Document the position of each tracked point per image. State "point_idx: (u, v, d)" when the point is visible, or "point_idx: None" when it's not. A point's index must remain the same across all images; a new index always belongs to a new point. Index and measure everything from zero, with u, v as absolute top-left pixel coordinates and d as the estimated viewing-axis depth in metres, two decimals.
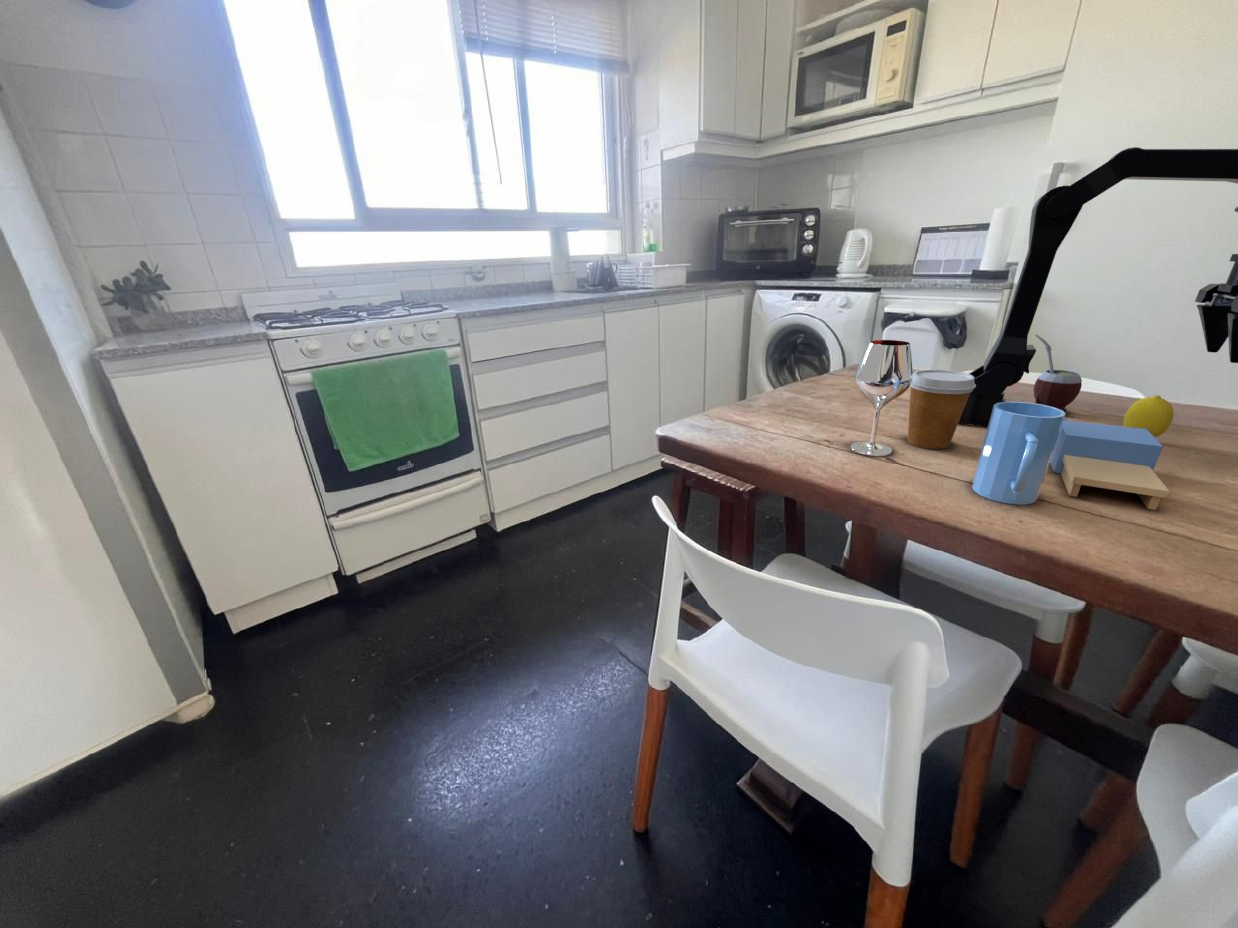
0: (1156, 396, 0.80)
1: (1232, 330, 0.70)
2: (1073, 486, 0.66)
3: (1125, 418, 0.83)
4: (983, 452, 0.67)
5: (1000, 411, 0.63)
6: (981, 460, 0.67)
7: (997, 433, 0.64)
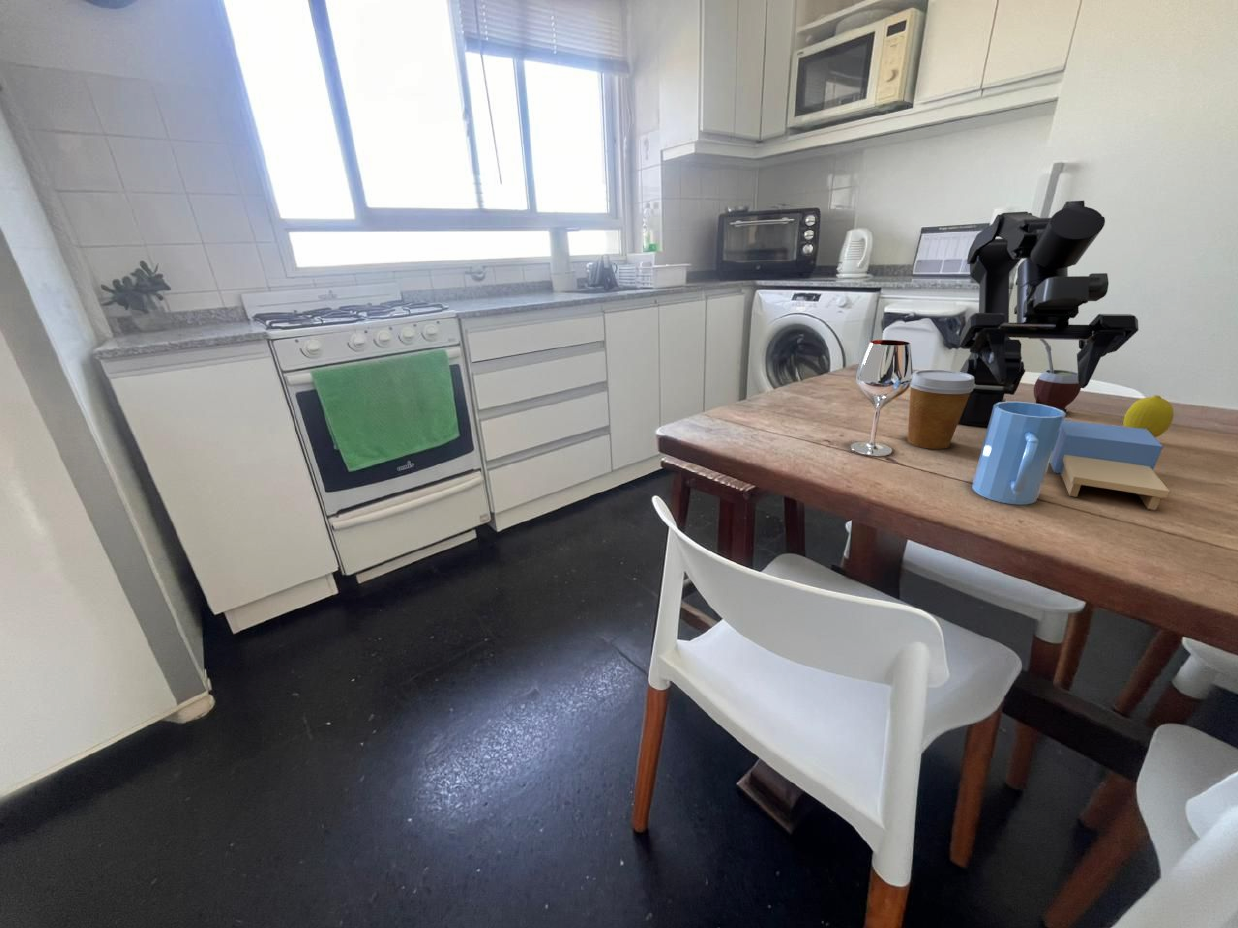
0: (1156, 396, 0.80)
1: (983, 361, 0.74)
2: (1073, 486, 0.66)
3: (1125, 418, 0.83)
4: (983, 452, 0.67)
5: (1000, 411, 0.63)
6: (981, 460, 0.67)
7: (997, 433, 0.64)
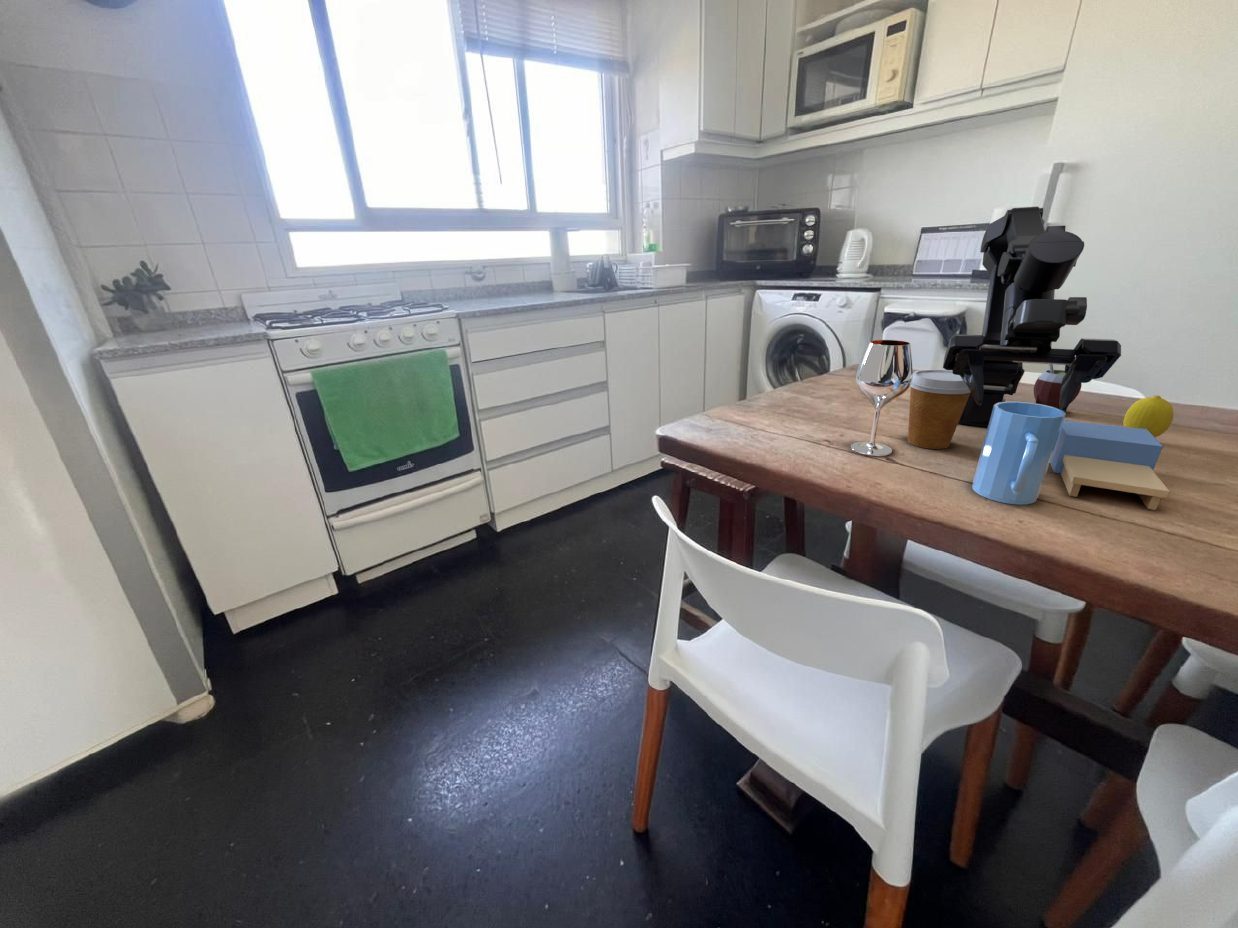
0: (1156, 396, 0.80)
1: (965, 382, 0.73)
2: (1073, 486, 0.66)
3: (1125, 418, 0.83)
4: (983, 452, 0.67)
5: (1000, 411, 0.63)
6: (981, 460, 0.67)
7: (997, 433, 0.64)
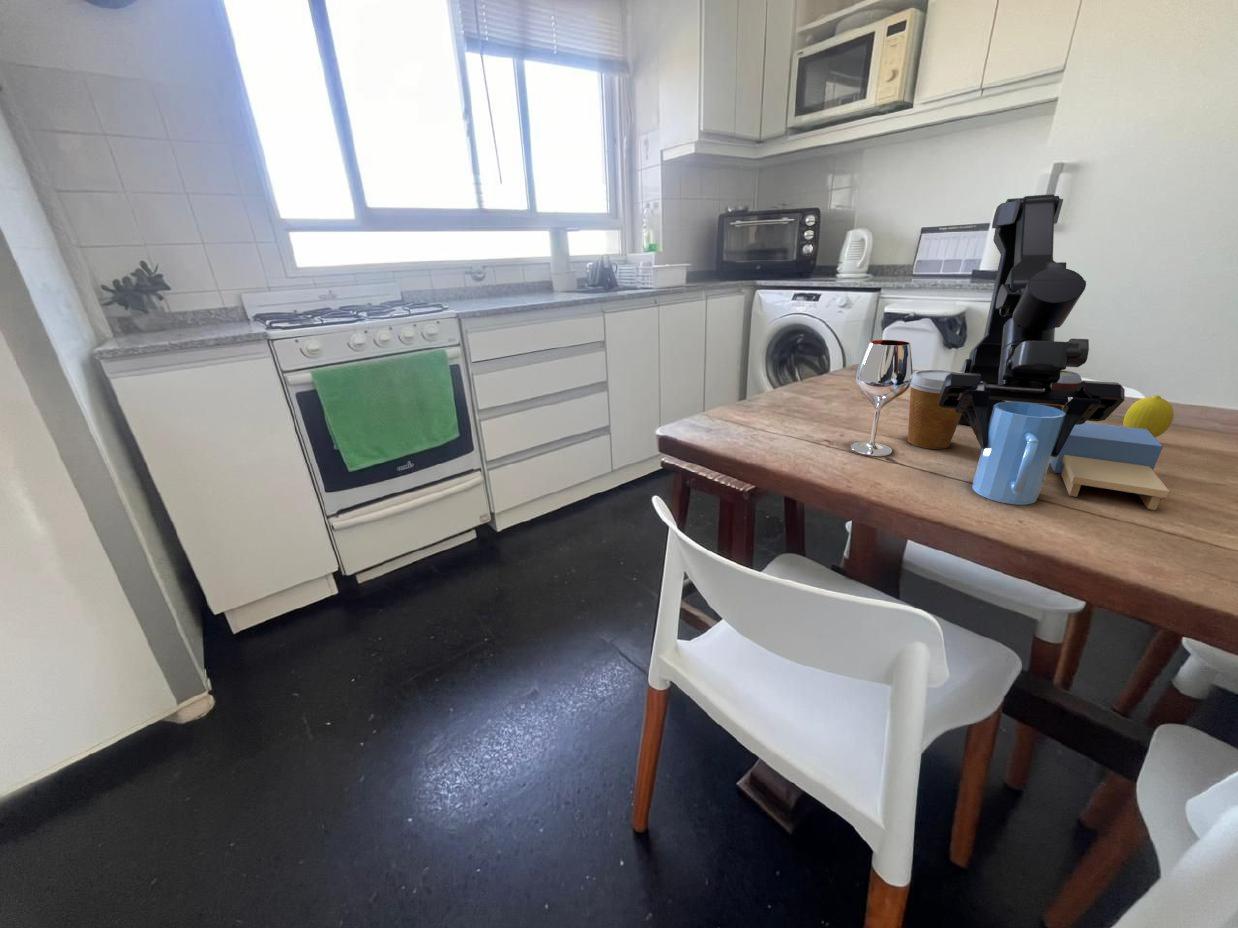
0: (1156, 396, 0.80)
1: (969, 422, 0.70)
2: (1073, 486, 0.66)
3: (1125, 418, 0.83)
4: (983, 452, 0.67)
5: (1000, 411, 0.63)
6: (981, 460, 0.67)
7: (997, 433, 0.64)
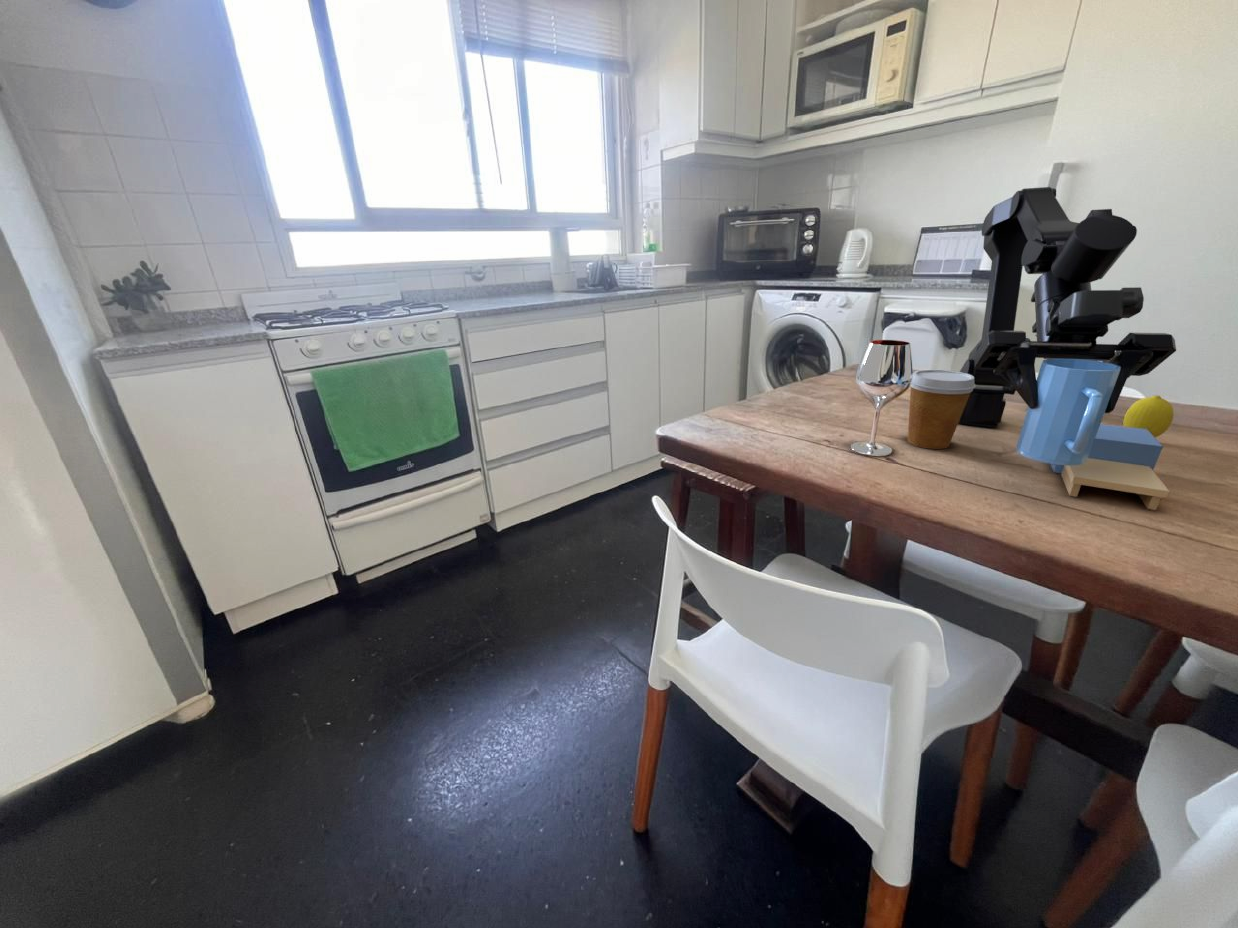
0: (1156, 396, 0.80)
1: (1010, 383, 0.67)
2: (1073, 486, 0.66)
3: (1125, 418, 0.83)
4: (1031, 413, 0.63)
5: (1053, 367, 0.60)
6: (1029, 421, 0.64)
7: (1050, 391, 0.61)
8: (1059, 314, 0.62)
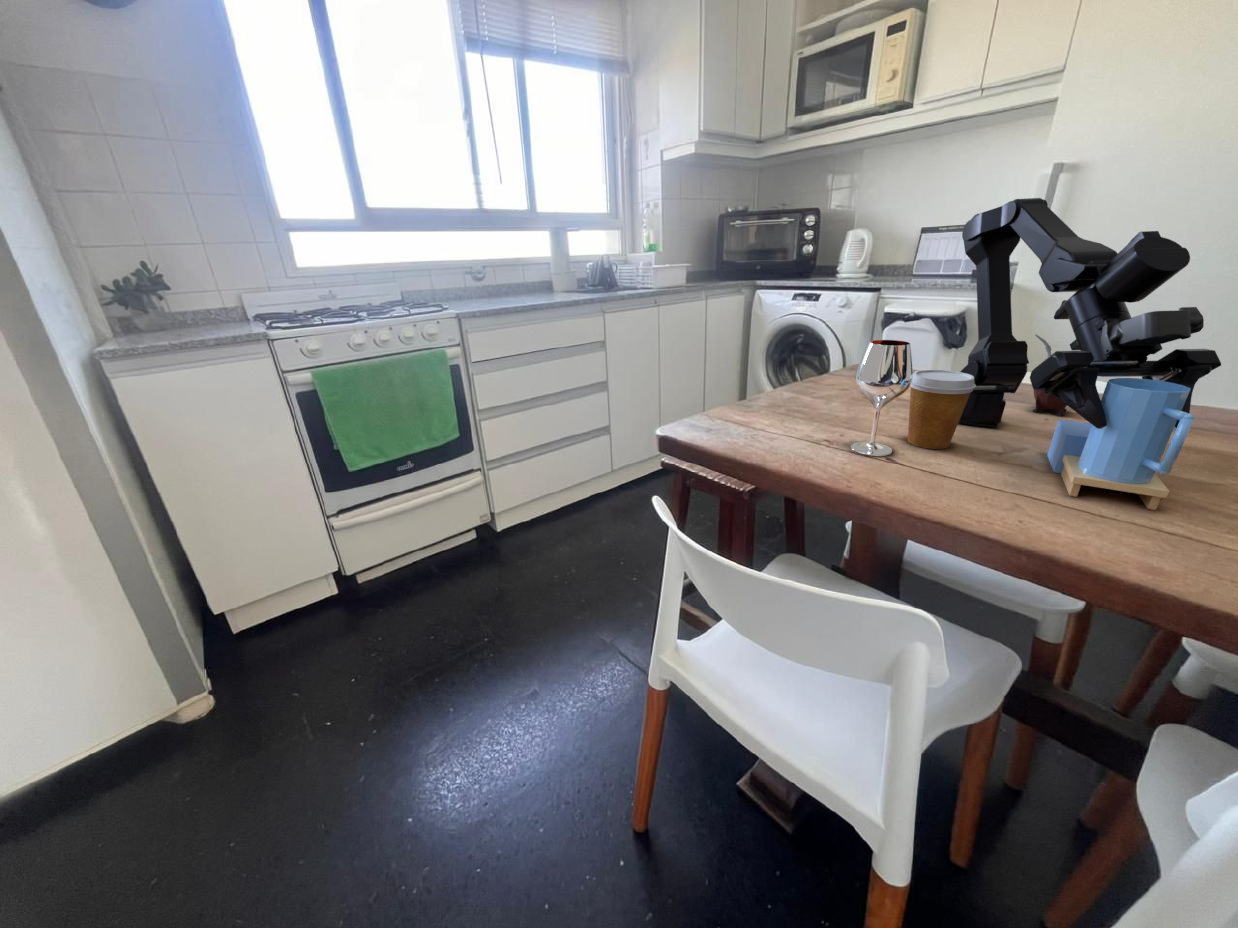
0: None
1: (1064, 403, 0.66)
2: (1073, 486, 0.66)
3: None
4: (1103, 434, 0.63)
5: (1132, 389, 0.60)
6: (1101, 442, 0.64)
7: (1128, 413, 0.61)
8: (1122, 334, 0.62)
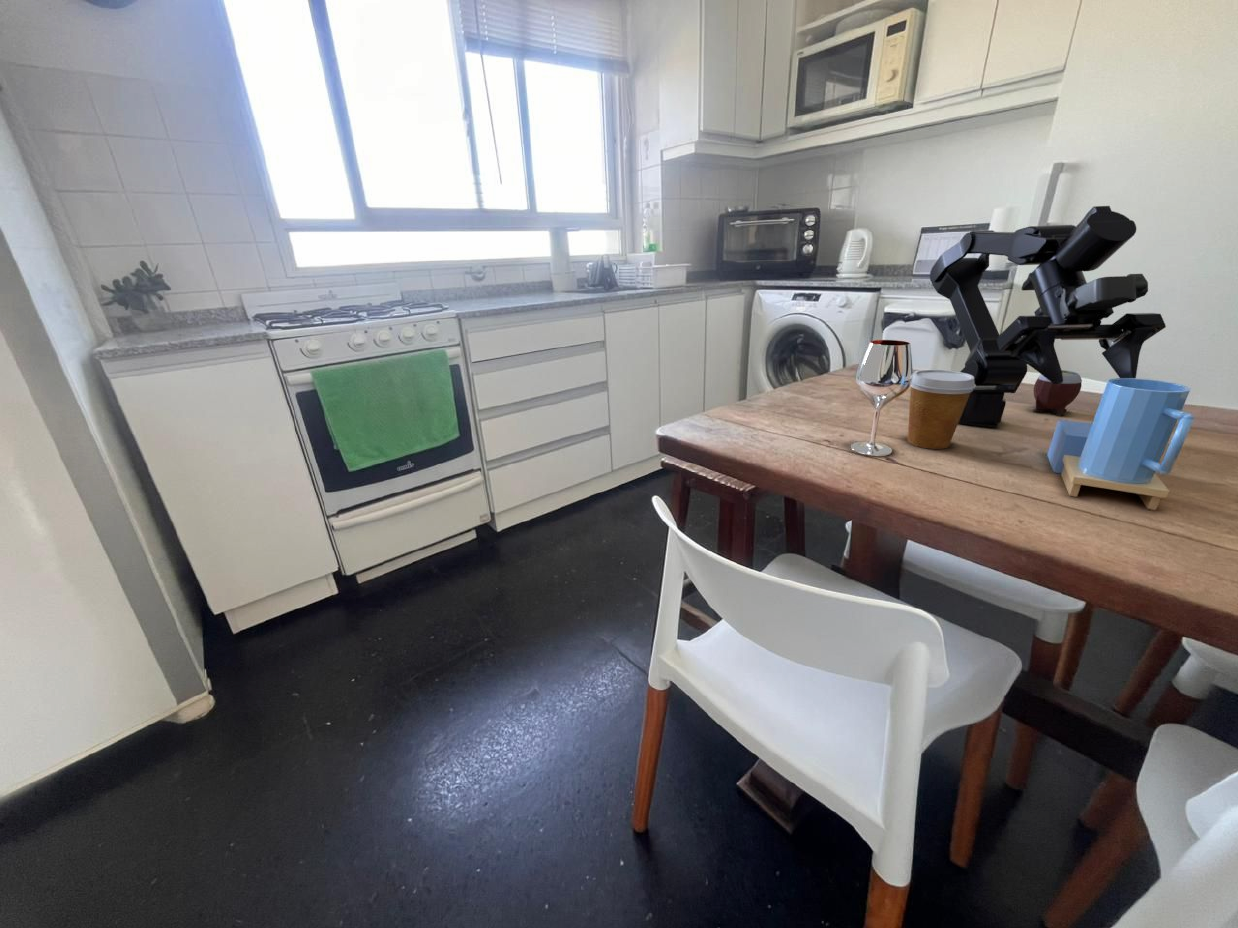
0: None
1: (1027, 363, 0.73)
2: (1073, 486, 0.66)
3: None
4: (1103, 434, 0.63)
5: (1132, 389, 0.60)
6: (1101, 442, 0.64)
7: (1128, 413, 0.61)
8: (1077, 299, 0.69)
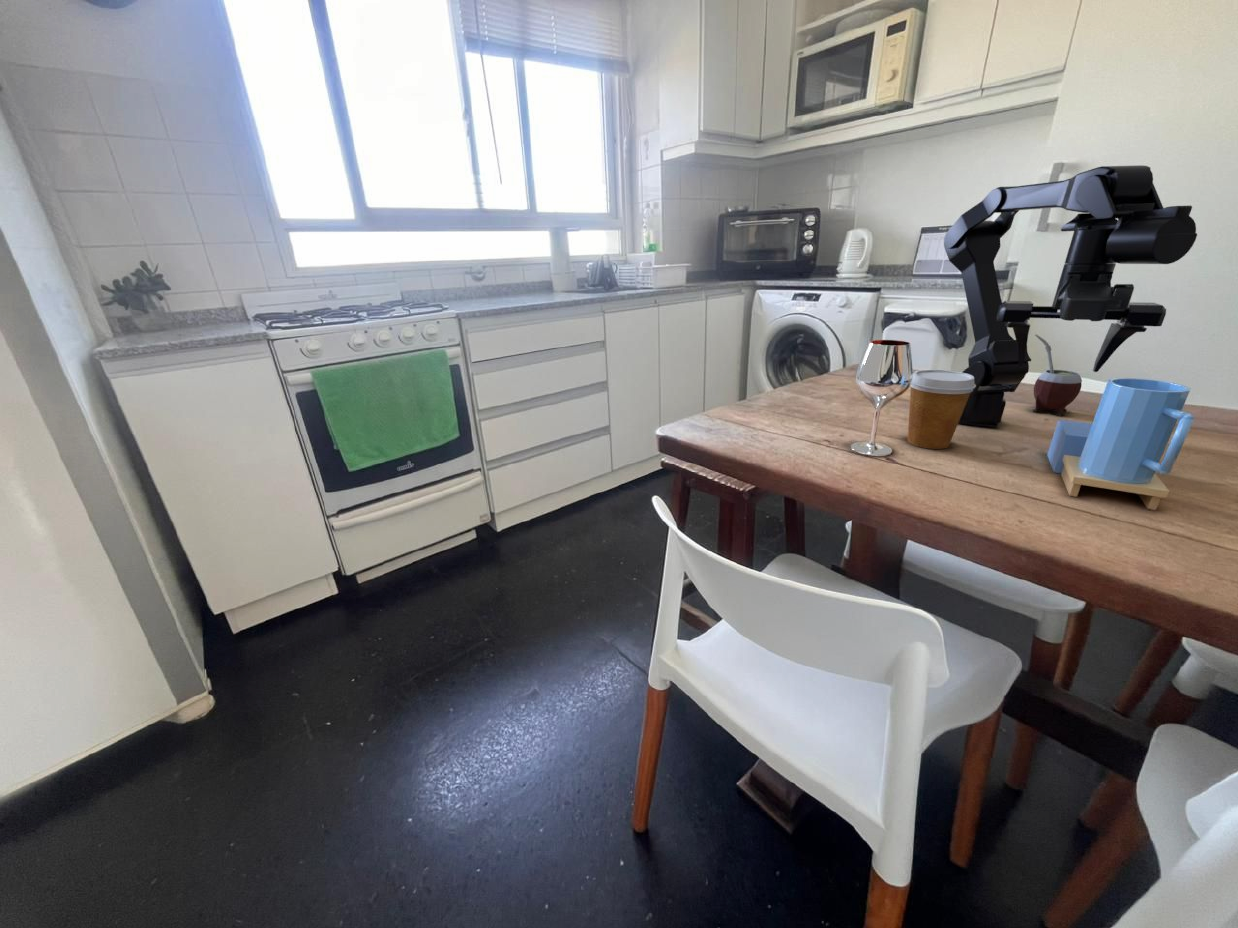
0: None
1: (1015, 335, 0.82)
2: (1073, 486, 0.66)
3: None
4: (1103, 434, 0.63)
5: (1132, 389, 0.60)
6: (1101, 442, 0.64)
7: (1128, 413, 0.61)
8: (1062, 299, 0.72)
